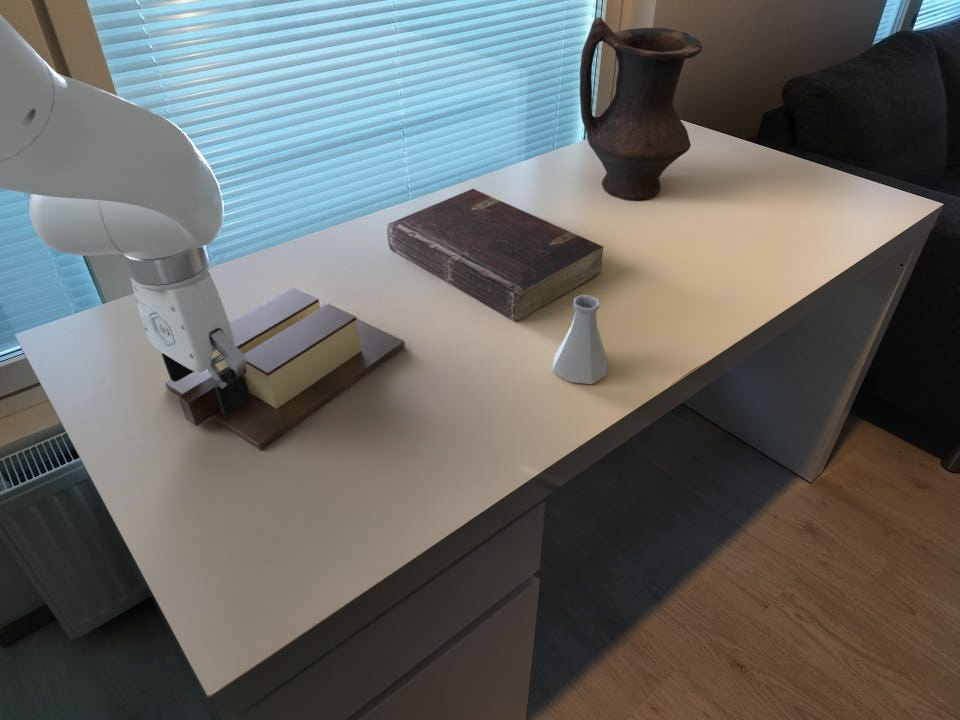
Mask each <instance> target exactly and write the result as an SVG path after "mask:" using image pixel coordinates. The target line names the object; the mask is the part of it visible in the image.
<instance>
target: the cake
mask: <svg viewBox="0 0 960 720" xmlns="http://www.w3.org/2000/svg"><path fill="white" fill-rule="evenodd" d="M319 301H320V300H319V298H318V297H315V296H313V295H311V294H309V293H307V292H304V291H302V290H300V289H298V288H296V287H294V286H291V287H289V288H287V289H286V290H284V291H282V292H281V293H279V294H277V295H275V296H273V297H271V298H269V299H268V300H267V301H264V302H263V303H261V304H258V305H257V306H255V307H253V308H252V309H250V310H248V311H246V312H245V313H243V314H241V315H239V316H237V317H236V318H233V319H232V320H230V321H229V324H230V328H231V331H232V335H233V339H234V344H235V346H236V347H237V348H238V349H239V350H240V351H241V352H242V353H243V354H244V355H245V357H246V358H247V364H246V370H247V372H246V373H245V379H246V383H247V386H248V390H249V392H250V393H251V394H253V395H255V396H256V397H258V398H260V399H261V400H263V401H264V402H266V403H268V404H269V405H271V406H273V407H274V408H276V409H277V408H279V407H280V406H282V405H283V404H285V403H286V402H288V401H289V400H290V399H292V398H293V397H295V396H296V395H298V394H299V393H301V392H302V391H304V390H305V389H307V388H308V387H309V386H311V385H312V384H314V383H315V382H317V381H318V380H320V379H321V378H323V377H324V376H326V375H327V374H328V373H330V372H331V371H333V370H334V369H336V368H337V367H339V366H340V365H342V364H343V363H345V362H346V361H347V360H349V359H350V358H352V357H353V356H355V355H356V354H358V353H359V352H361V346H360V339H359V332H358V325H357V319H358V318H357V316H356V315H354V314H351V313H349V312H347V311H346V310H342V309H341V308H338V307H336V306H335V305H332V304H330V303H327V305H325V306H324V307H322V308H320V304H319ZM220 354H221V353H220V352H219V351H218V350H215V351H213V353H212V359H213V358H215V357H217V356H219V355H220ZM215 365H216V367H217V368H218V369H219V371H221V370H223V369H225V368H226V367H228V366H229V365H228V363H227V362H226V360H225V359H224V360H222V361H221V362H219V363H217V364H215Z"/></svg>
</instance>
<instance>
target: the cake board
mask: <svg viewBox="0 0 960 720" xmlns="http://www.w3.org/2000/svg"><path fill="white" fill-rule="evenodd" d="M319 304H320V308H322V307H324V306H325V305H327V304H328V303H327V304H326V303H324V302H322V301H321V300H319ZM357 325H358V332H359V339H360V346H361V352H359V353H358V354H356V355H355V356H353V357H352V358H350V359H349V360H347V361H346V362H345V363H343V364H342V365H340V366H339V367H337V368H336V369H334V370H333V371H331V372H330V373H328V374H327V375H326V376H324V377H323V378H321V379H320V380H318V381H317V382H315V383H314V384H312V385H311V386H309V387H308V388H307V389H305V390H304V391H302V392H301V393H299V394H298V395H296V396H295V397H293V398H292V399H290V400H289V401H288V402H286V403H285V404H283V405H282V406H280V407H279V408H277V409H276V408H274V407H273V406H271V405H269V404H268V403H266V402H264V401H263V400H261V399H260V398H258V397H256V396H255V395H253V394H251V393H250V392H249V390H248V388H246V389H247V393H248V397H249V401H248V402H247V403H246V404H244V405H243V406H241V407H240V408H238V409H236V410H235V411H233V412H232V413H230V414H229V415H226V414H224V413H223V412H222V410H221V411H220V412H218V413H217V414H215V415H214V416H212V417H210V419H212V420H214V421H215V422H217V423H218V424H220V425H221V426H223V428H226V429H227V430H229V431H230V432H232V433H233V434H235V435H236V436H238V437H239V438H241V439H242V440H244V441H245V442H247V443H248V444H250V445H251V446H253V447H254V448H256V449H257V450H259V451H263V450H264V449H265V448H267V447H268V446H269V445H271V444H272V443H274V442H275V441H276V440H278V439H279V438H280V437H282V436H283V435H285V434H286V433H288V432H289V431H290V430H292V429H293V428H294V427H296V426H297V425H298V424H300V423H301V422H302V421H305V419H307V418H308V417H310V416H312V414H314V413H315V412H317V411H318V410H319V409H321V408H322V407H323V406H325V405H327V404H328V403H329V402H331V401H332V400H333V399H335V398H336V397H338V396H339V395H340V394H342V393H343V392H344V391H346V390H347V389H348V388H350V387H351V386H353V385H354V384H355V383H357V382H358V381H360V380H361V379H362V378H364V377H365V376H367V375H368V374H370V373H371V372H373V371H374V370H376V368H378V367H380V365H382V364H383V363H385V362H386V361H387V360H389V359H390V358H391V357H393V356H395V355H396V354H397V353H399V352H400V351H402V350H403V349H404V348H406V344H405V343H406V342H405V340H403V339H401V338H399V337H397V336H394V335H392V334H391V333H388V332H386V331H384V330H381V329H379V328H377V327H375V326H374V325H371V324H369V323H366V322H365V321H364V320H363V321H362V320H361V319H358V318H357ZM211 376H212V375H211V374H210V372H209V371H208V369H206V370H205V371H203V372H195V371H194V372H193V373H191V374H189V375H187V376H186V377H184V378H182V379H180V380H179V381H176V382H174V381H172V380H171V379H170V378H169V380H167V381H165V382H164V384H165V388H166V389H167V390H168V391H170V392H172V394H174V395H176V396H177V397H178V396H180V395H182V394H183V393H185V392H187V391H188V390H190V389H192V388H193V387H195V386H197V385H198V384H200V383H201V382H203V381H205V380H206V379H208V378H210V377H211Z"/></svg>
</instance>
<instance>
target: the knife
mask: <svg viewBox="0 0 960 720" xmlns="http://www.w3.org/2000/svg"><path fill="white" fill-rule="evenodd" d="M228 369H229V366H228V367H226V368H225V369H223V370H221V371H220V372H221V374H222V375H223V374H224V373H225V372H226V371H227V370H228ZM243 379H244V382H245V386H246V388H248V386H247V383H246V379H245V376H243ZM215 385H217V382H216V381H215V380H214V378H213V377H212V376H211V377H210V378H208V379H206V380H205V381H203V382H201V383H200V384H198V385H197V386H195V387H193V388H192V389H190V390H188V391H187V392H185V393H183V394H182V395H180V396H177V398H178V401H179V404H180V407H181V410H182V412H183V414H184V418H185V420H186V421H187V422H189V423H191V424H192V425H194V426H195V427H198V426H200V425H201V424H203V423H204V422H206V421H208V420H209V419H211V417H212V416H214V415H215V414H217V413H218V412H220V411H221V410H222V409H221V406H220V403H219V400H218V397H217V393H216V390H215V387H214V386H215Z"/></svg>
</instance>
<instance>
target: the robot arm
mask: <svg viewBox="0 0 960 720" xmlns="http://www.w3.org/2000/svg"><path fill="white" fill-rule="evenodd" d="M0 189H2V190H7V191H11V192H19V193H22V194H23V193H24V194H27V195H30V198H29V206H28V210H29V218H30V222H31V225H32V227H33V229H34V231H35V233H36V234H37V236H38V237H39V239H40V240H41V241H42V242H43V243H44V244H45V245H46V246H49V248H51V249H53V250H55V251H57V252H59V253H62V254H66V255H71V256H84V257H85V256H90V257H91V256H107V255H122V258H123V261H124V263H125V266H126V269H127V272H128V275H129V277H130V280H131V285H132V289H133V294H134V298H135V301H136V305H137V309H138V312H139V315H140V318H141V321H142V322H141V323H142V325H143V328H144V331H145V334H146V337H147V340H148V342H149V344H150V345H151V346H152V347H153V348H155V349H156V350H157V351H159V352H160V353H161V356H162V359H163V362H164V365H165V368H166V370H167V374H168V376H169V380H170V379H171V380H172V381H174V382H176V381H179V380H180V379H182V378H184V377H186V376H187V375H189V374H191V373H193V372H194V371H195V372H203V371H205V370H206V369H208V371H209V372H210V374H211V375H212V377H213V378H214V380H215V381H216V382H217V385H215V386H214V387H215V390H216V393H217V397H218V400H219V403H220V406H221V409H222V412H223V413H224V414H226V415H229V414H230V413H232V412H233V411H235V410H236V409H238V408H240V407H241V406H243V405H244V404H246V403H247V402H248V401H249V397H248V393H247V389H246V386H245V382H244V379H243V376H245V373H246V372H247V370H246V364H247V358H246V357H245V355H244V354H243V353H242V352H241V351H240V350H239V349H238V348H237V347H236V346H235V344H234V339H233V335H232V331H231V328H230V324H229V322H230V321H229V319H228V316H227V313H226V310H225V307H224V304H223V302H222V301H223V300H222V299H221V296H220V294H219V291H218V288H217V287H216V284H215V282H214V280H213V277H212V275H211V273H210V267H211V261H210V258H209V254H208V252H207V246H208V245H210V244H211V243H212V242H214V240H216V239H217V237H218V236H219V234H220V233H221V230H222V227H223V224H224V220H225V205H224V199H223V193H222V191H221V188H220V185H219V181H217V178H216V176H215V174H214V172H213V171H212V168H211V167H210V165H209V164H208V162H207V160H206V159H205V157H204V156H203V154H202V153H201V152H200V150H199V149H198V147H197V146H196V145H195V144H194V142H193V141H192V140H191V139H190V137H189V136H188V135H187V134H186V133H185V132H184V131H183V130H182V128H180V126H179V127H178V125H176V124H175V123H174V122H172V121H170V120H169V119H167V118H166V117H163V115H160V114H158V113H157V112H154V111H152V110H150V109H148V108H146V107H143V106H141V105H139V104H136V103H135V102H131V101H129V100H126V99H124V98H122V97H120V96H117V95H115V94H113V93H110V92H108V91H105V90H103V89H101V88H98V87H96V86H93V85H91V84H88V83H86V82H83V81H80V80H78V79H74V78H72V77H68V76H66V75H63V74H62V73H61V74H60V73H58V72H57V71H55V70H54V69H53V68H52V67H51V66H50V65H49V63H47V61H46V60H45V59H44V58H43V57H42V56H41V54H39V53H38V52H37V51H36V50H35V49H34V48H33V47H32V46H31V44H30V43H29V42H27V41H26V39H25V38H24V37H22V35H21V34H20V33H19V32H18V31H17V30H16V29H15V28H14V27H13V26H12V25H11V24H10V23H9V22H8V21H7V19H5V17H4V16H3V15H2V14H1V13H0ZM215 350H218V351H219V352H220V353H221V354H220V355H219V356H217V357H215V358H213V359H212V353H213V351H215ZM224 359H225V360H226V362H227V363H228V365H229V369H228V370H227V371H226V372H225V373H224V374H223V375H222V374H221V372H220V371H219V369H218V368H217V367H216V365H215V364H217V363H219V362H221V361H222V360H224Z"/></svg>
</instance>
